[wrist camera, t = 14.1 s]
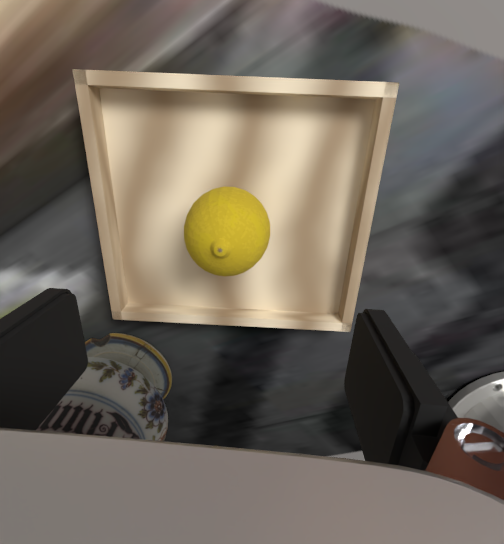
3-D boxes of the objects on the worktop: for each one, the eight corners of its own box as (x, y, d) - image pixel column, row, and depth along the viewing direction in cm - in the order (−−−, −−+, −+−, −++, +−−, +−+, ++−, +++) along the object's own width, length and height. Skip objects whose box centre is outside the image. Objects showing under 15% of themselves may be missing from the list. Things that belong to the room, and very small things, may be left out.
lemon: (284, 213, 24) (293, 247, 17) (237, 263, 26) (226, 313, 18) (228, 163, 23) (211, 174, 15) (183, 219, 24) (148, 254, 17)
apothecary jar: (143, 305, 29) (-18, 532, 12) (203, 397, 33) (143, 657, 17) (39, 346, 31) (-213, 584, 15) (108, 427, 35) (-27, 683, 19)
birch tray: (384, 88, 21) (399, 82, 19) (343, 316, 29) (350, 331, 26) (92, 76, 22) (72, 69, 19) (124, 304, 29) (112, 319, 27)
